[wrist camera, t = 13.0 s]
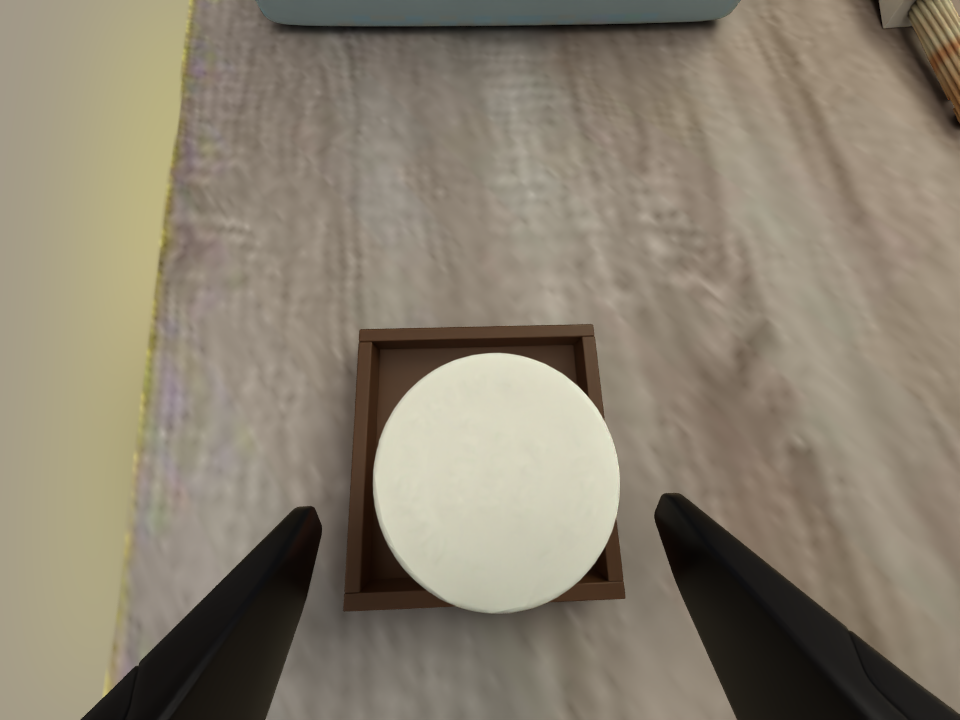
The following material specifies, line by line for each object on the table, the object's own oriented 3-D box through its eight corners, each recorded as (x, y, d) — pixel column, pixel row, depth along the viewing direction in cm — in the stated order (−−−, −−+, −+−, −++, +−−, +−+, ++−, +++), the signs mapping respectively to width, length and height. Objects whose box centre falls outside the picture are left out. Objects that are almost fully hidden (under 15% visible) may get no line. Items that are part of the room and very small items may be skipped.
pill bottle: (397, 469, 18) (274, 511, 7) (467, 374, 19) (462, 278, 8) (494, 544, 17) (538, 735, 6) (560, 441, 18) (698, 437, 7)
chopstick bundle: (928, -114, 26) (1038, 97, 23) (885, -64, 29) (978, 132, 25) (882, -113, 26) (985, 101, 22) (843, -63, 29) (930, 136, 25)
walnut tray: (607, 579, 17) (626, 599, 15) (359, 590, 17) (342, 612, 15) (580, 336, 20) (593, 323, 18) (371, 341, 20) (359, 328, 18)
